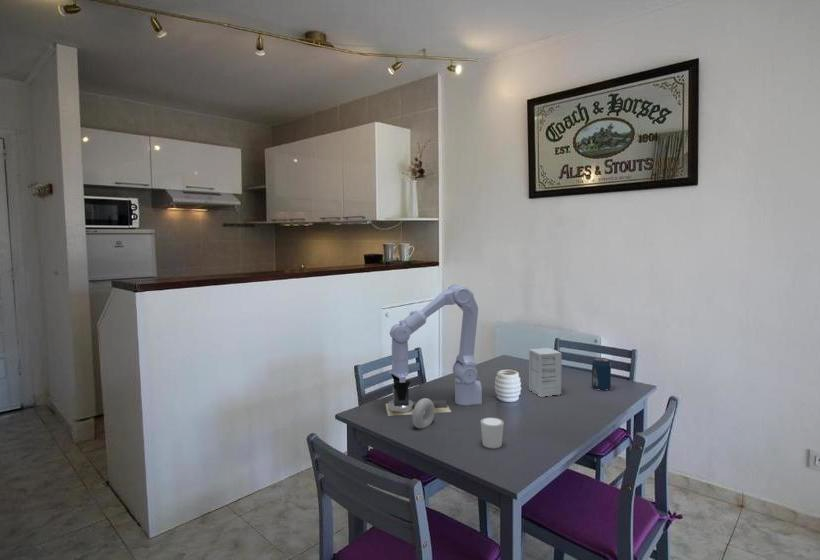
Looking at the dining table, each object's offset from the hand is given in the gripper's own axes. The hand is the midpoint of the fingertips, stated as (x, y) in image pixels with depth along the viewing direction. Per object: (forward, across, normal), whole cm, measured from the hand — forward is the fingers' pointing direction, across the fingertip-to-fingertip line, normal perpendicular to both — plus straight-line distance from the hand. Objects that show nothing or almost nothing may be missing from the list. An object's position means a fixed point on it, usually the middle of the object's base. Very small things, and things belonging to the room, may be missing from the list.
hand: (400, 396), depth 168 cm
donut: (+6, +16, +6) cm, 18 cm away
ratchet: (+4, 0, +6) cm, 7 cm away
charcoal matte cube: (+2, 0, 0) cm, 2 cm away
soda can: (+6, -12, +82) cm, 83 cm away
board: (+6, 0, +6) cm, 8 cm away
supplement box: (+6, -11, +58) cm, 59 cm away
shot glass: (+6, +30, +24) cm, 39 cm away
